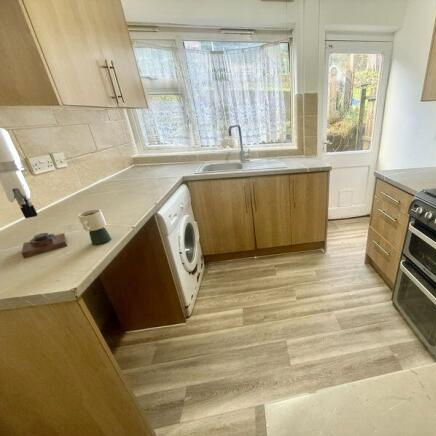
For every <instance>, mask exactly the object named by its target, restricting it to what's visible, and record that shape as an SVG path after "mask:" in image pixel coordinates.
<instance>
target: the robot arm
mask: <svg viewBox="0 0 436 436" xmlns="http://www.w3.org/2000/svg"><path fill="white" fill-rule="evenodd" d="M24 170H25V166H24V164H23V162H22V160H21V158H20V155H19V153H18V151H17V149H16V147H15V145H14V142H13V140H12V138H11V136H10V134H9V133H8V131H7V130H6V129H5V128H3V127H0V185H1V187H2V188H3V191H4V193H5V195H6V197H7V199H8V202H10V203H14V201H16V202H17V204H18V206H19V208H20V211H21V213H22V215H23V217H24V218H25V219H30V218H35V217H38V211H37V210H36V208H35V206H34V205H33V203H32V201H31V189H30V188H29V186H28V183H27V181H26V179H25V177H24V175H23V173H22V171H24Z"/></svg>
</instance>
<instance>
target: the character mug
mask: <svg viewBox="0 0 436 436" xmlns="http://www.w3.org/2000/svg"><path fill="white" fill-rule="evenodd" d="M77 217H78V219H79V222H80V223H81V225H82V229H83V230H84V231H86V232H89V238H90V241H91V242H90V243H91V244H92V245H93V246H97V245H101V244H105V243H108V242H110V241H111V240H112V236H111V235H110V233H109V232H108V229H106V228H105V227H106V226H107V222H106V220H105V217H104V214H103V212H102V210H101V209H98V208H96V209H95V208H94V209H88V210H85V211H83V212H80V213H79V214H78V215H77Z"/></svg>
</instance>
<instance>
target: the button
mask: <svg viewBox="0 0 436 436" xmlns="http://www.w3.org/2000/svg"><path fill="white" fill-rule="evenodd" d="M49 234H50V233H49V232H42V233H38V234H35V235H34V236H33V238H34V239H35V241H42V240H45V239H48V238H49Z"/></svg>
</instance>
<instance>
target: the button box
mask: <svg viewBox="0 0 436 436" xmlns="http://www.w3.org/2000/svg"><path fill="white" fill-rule="evenodd" d="M48 234H49V238H48V239H45V240H42V241H35V239H34V237H33V238H32V239H30V240H29V241H26V242H23V244H22V249H21V255H22V257H23V259H27V258H29V257H33V256H38V255H41V254H45V253H49V252H51V251H52V252H53V251H56V250H58V249H62V248H65V247H68V240H67V236H66V234H65V233H64V232H63V233H60V234H59V233H58V234H54V233H48Z"/></svg>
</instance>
